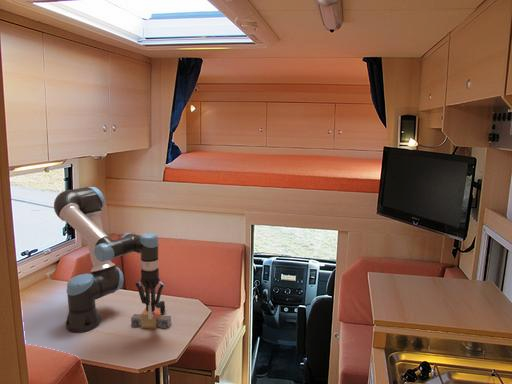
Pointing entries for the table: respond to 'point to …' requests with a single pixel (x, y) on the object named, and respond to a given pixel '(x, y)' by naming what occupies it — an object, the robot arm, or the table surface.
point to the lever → (156, 313)
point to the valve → (150, 321)
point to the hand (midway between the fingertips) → (150, 317)
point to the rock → (161, 306)
